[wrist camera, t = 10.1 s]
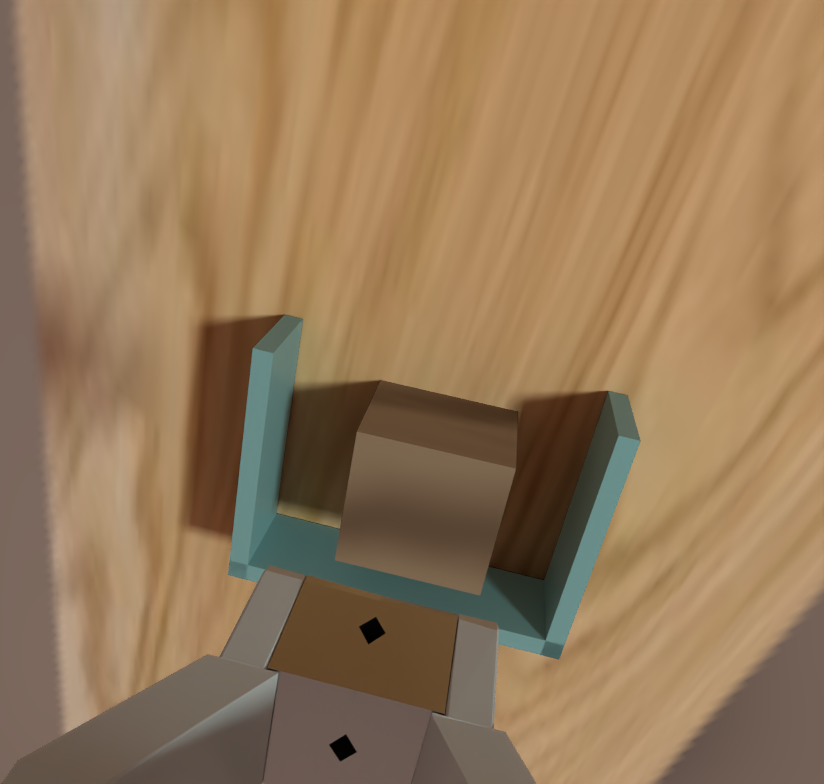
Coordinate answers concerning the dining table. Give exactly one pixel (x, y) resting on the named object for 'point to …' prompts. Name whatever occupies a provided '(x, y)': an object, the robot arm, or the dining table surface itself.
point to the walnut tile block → (428, 486)
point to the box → (315, 556)
